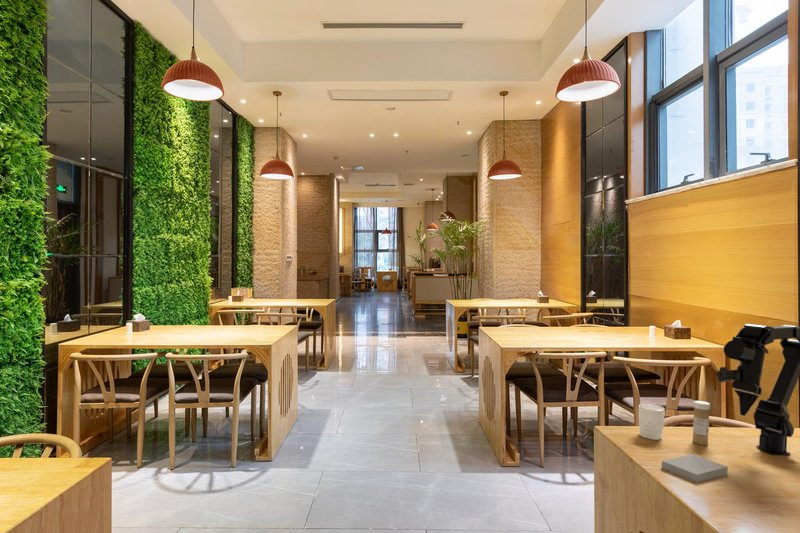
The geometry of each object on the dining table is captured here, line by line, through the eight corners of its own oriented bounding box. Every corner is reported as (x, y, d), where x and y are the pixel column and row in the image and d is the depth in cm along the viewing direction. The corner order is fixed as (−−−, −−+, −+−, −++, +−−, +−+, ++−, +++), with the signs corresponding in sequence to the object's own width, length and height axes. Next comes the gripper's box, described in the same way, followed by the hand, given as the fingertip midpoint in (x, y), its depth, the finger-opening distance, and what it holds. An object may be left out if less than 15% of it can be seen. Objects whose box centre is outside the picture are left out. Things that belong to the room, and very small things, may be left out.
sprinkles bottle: (697, 439, 167) (699, 399, 167) (711, 444, 163) (713, 403, 163) (689, 441, 165) (690, 400, 165) (702, 446, 161) (704, 404, 161)
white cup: (657, 433, 172) (659, 404, 172) (667, 441, 164) (669, 411, 164) (633, 431, 173) (635, 403, 173) (642, 439, 165) (644, 409, 165)
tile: (692, 453, 147) (662, 460, 141) (727, 466, 139) (697, 474, 132) (692, 462, 147) (661, 470, 141) (727, 475, 139) (696, 484, 132)
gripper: (724, 360, 166) (716, 407, 164) (716, 355, 152) (707, 406, 150) (765, 369, 158) (757, 418, 157) (761, 365, 144) (751, 418, 143)
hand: (742, 415), depth 152 cm, fingers closed
